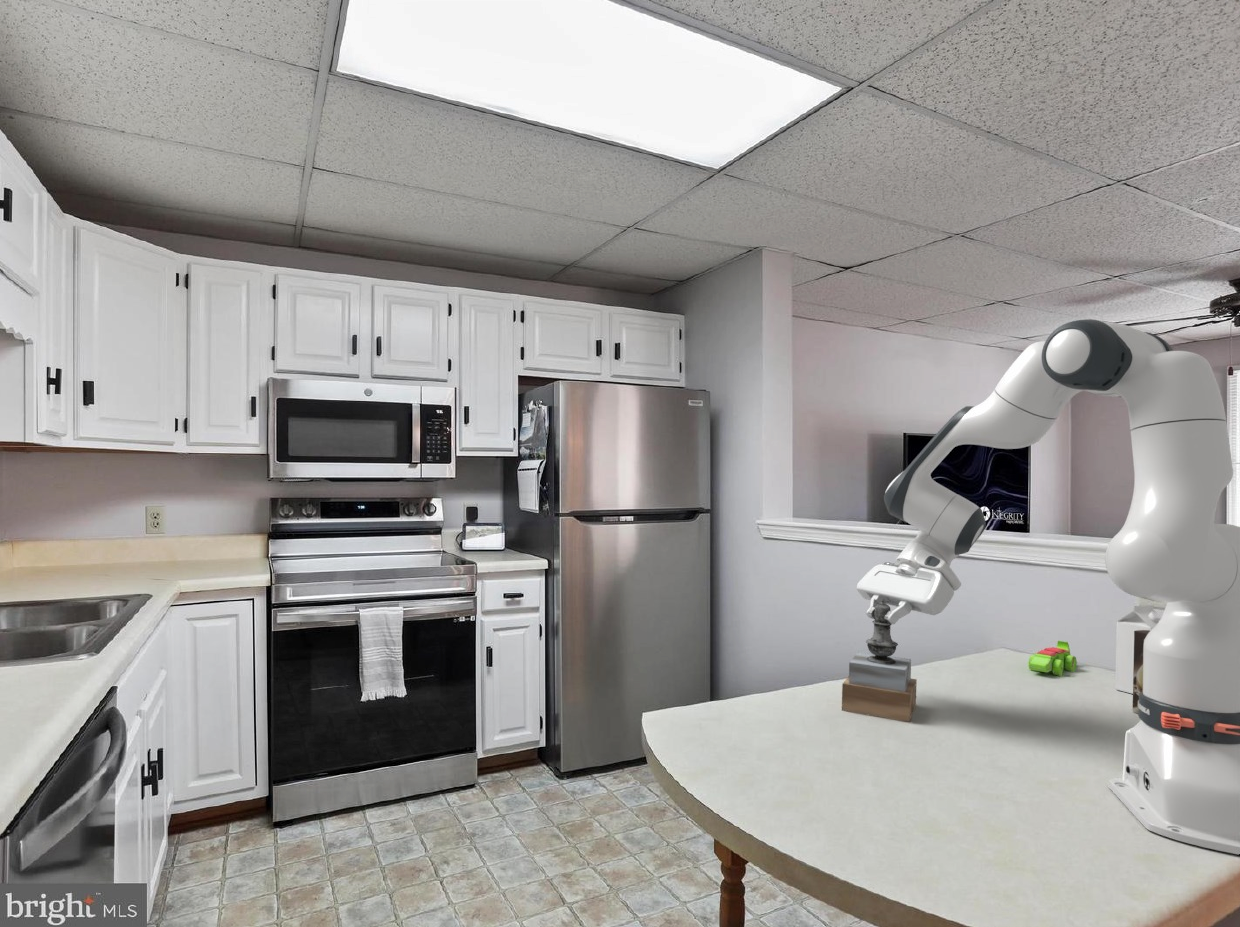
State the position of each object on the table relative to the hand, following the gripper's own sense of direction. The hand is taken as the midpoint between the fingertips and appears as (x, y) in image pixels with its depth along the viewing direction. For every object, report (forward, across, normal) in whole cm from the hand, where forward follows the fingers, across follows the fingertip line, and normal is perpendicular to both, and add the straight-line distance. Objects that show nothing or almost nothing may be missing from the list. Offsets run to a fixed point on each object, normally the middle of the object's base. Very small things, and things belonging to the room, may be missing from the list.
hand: (879, 619), depth 139 cm
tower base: (+12, 0, +12) cm, 17 cm away
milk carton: (-34, +8, +58) cm, 68 cm away
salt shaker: (+5, 0, +6) cm, 8 cm away
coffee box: (-24, +22, +48) cm, 58 cm away
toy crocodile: (-32, -11, +57) cm, 67 cm away
